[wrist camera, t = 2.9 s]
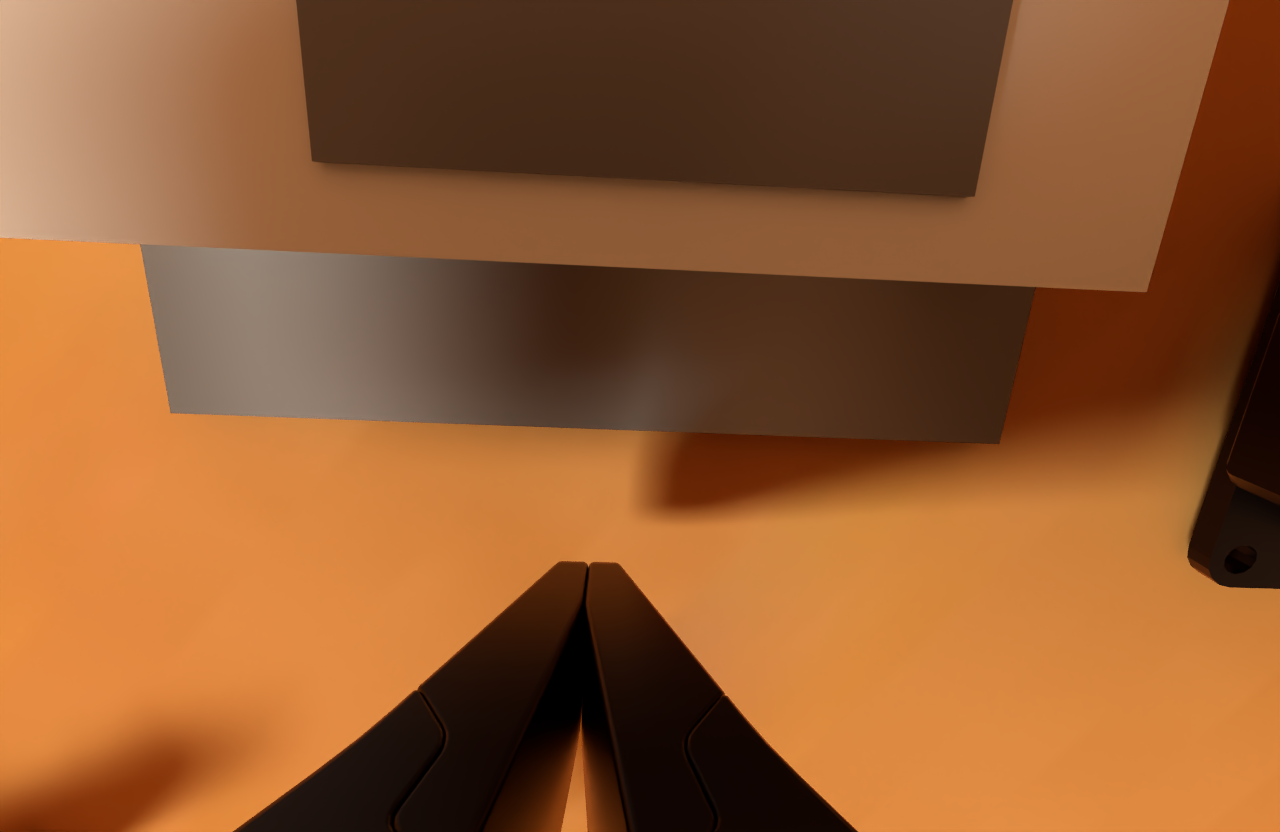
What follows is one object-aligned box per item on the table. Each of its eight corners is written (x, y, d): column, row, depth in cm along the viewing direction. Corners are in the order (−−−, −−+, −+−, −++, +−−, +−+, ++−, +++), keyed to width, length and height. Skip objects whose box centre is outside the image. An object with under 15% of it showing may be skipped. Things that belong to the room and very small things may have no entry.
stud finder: (1100, -179, 7) (1356, -391, 5) (1004, 271, 9) (1159, 294, 6) (98, -258, 7) (-213, -539, 4) (177, 230, 8) (-19, 237, 6)
